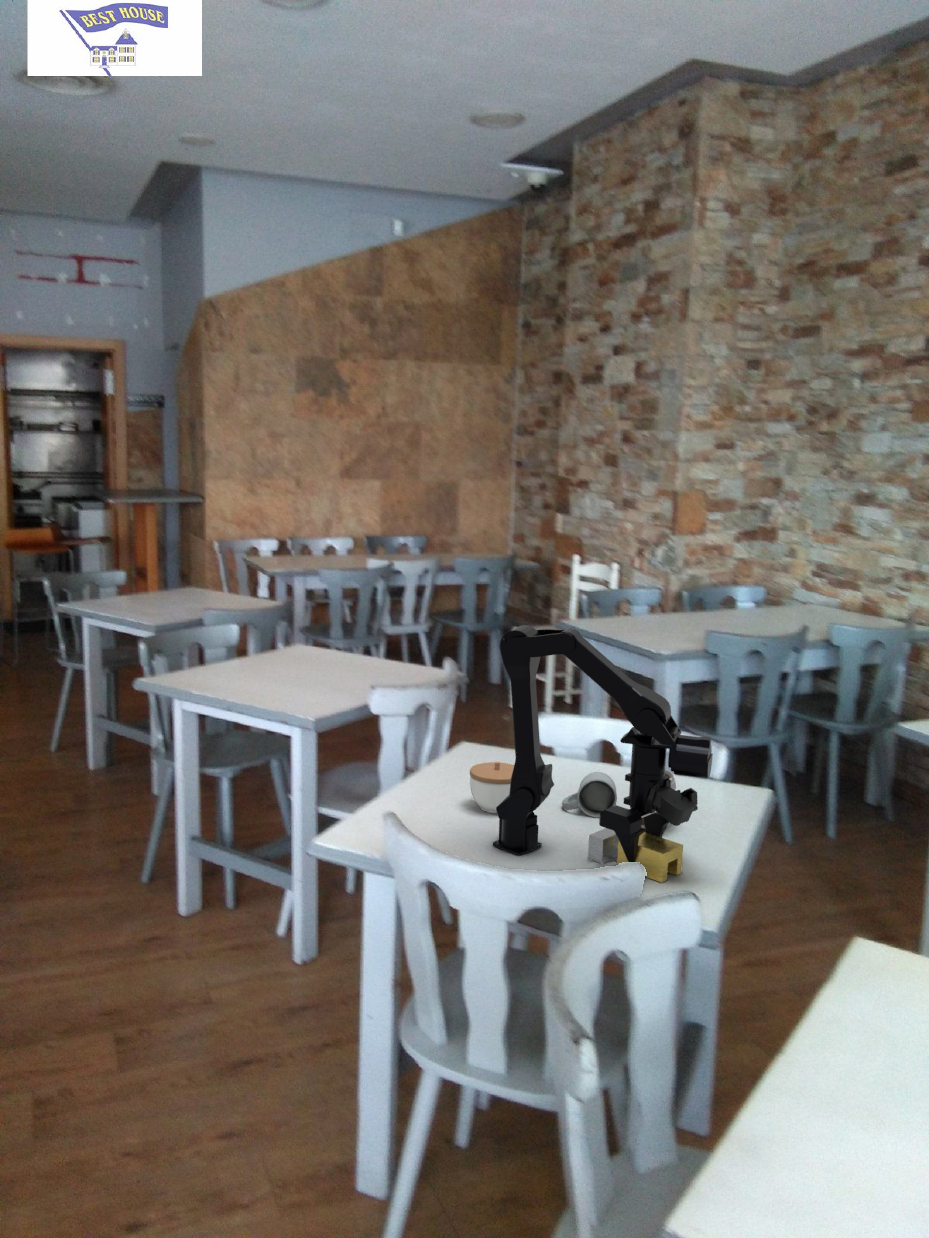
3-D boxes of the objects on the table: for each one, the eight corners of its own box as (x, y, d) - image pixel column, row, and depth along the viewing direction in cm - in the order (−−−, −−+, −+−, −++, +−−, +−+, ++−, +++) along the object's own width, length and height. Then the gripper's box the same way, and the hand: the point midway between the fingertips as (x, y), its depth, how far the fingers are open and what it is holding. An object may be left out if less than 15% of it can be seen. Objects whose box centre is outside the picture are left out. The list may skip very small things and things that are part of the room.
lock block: (617, 866, 180) (618, 838, 179) (637, 857, 184) (638, 830, 183) (661, 882, 173) (663, 853, 173) (681, 872, 178) (683, 844, 177)
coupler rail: (587, 858, 183) (589, 834, 182) (614, 847, 188) (616, 823, 188) (638, 877, 175) (639, 852, 175) (664, 864, 181) (666, 840, 180)
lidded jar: (493, 795, 214) (495, 750, 213) (534, 808, 207) (536, 763, 205) (457, 807, 206) (458, 761, 205) (497, 821, 199) (499, 774, 198)
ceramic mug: (615, 804, 211) (616, 768, 209) (616, 819, 202) (617, 780, 201) (562, 802, 212) (563, 765, 211) (561, 816, 204) (562, 778, 202)
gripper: (657, 794, 165) (650, 887, 167) (718, 770, 178) (711, 857, 181) (599, 777, 172) (594, 866, 175) (663, 755, 186) (657, 839, 188)
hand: (642, 857), depth 179 cm, fingers closed on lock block, 6 cm apart
